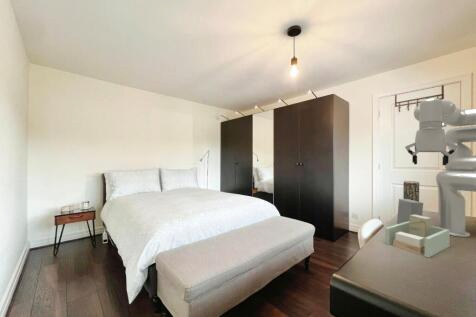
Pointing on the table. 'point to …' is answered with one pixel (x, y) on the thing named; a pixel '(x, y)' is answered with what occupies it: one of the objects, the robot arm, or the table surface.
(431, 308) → the table surface
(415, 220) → the skincare box
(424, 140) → the robot arm
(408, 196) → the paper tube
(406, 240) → the offcut upper
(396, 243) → the offcut lower
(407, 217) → the skincare box
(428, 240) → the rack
